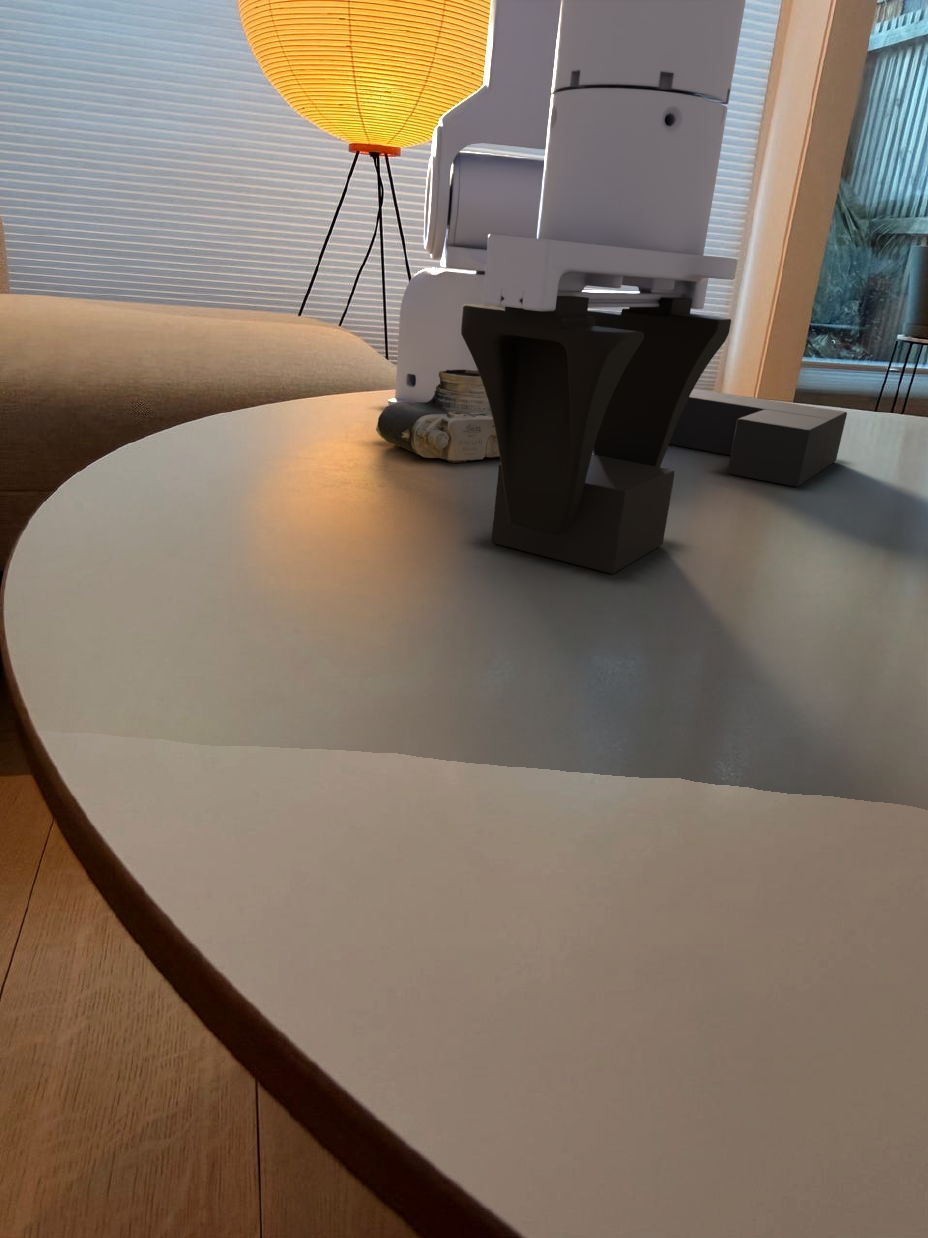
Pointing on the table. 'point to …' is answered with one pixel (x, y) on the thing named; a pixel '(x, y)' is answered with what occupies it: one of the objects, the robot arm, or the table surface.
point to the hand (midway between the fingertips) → (583, 508)
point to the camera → (445, 421)
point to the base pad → (761, 435)
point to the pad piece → (600, 517)
